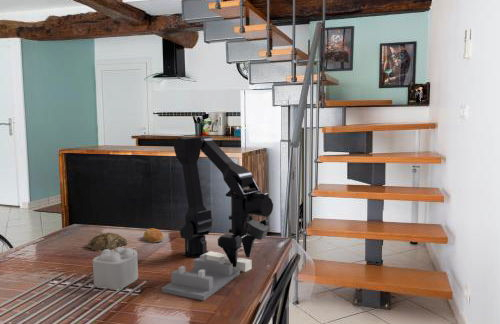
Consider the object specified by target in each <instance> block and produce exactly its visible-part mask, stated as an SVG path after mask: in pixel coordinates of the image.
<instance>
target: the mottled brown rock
mask: <svg viewBox="0 0 500 324" xmlns="http://www.w3.org/2000/svg"><path fill="white" fill-rule="evenodd" d="M127 244H128V241H127V239H126V238H125V237H123V236H122V235H119V233H118V234H117V233H115V232H103V233H100V234H98V235H95V236H94V237H93V238H91V239H90V240H89V242H88V243H87V248H88V249H91V251H93V250H95V251H94V252H99V251H98V250H105V249H109V250H110V249H112V250H115V248H118V247H122V246H124V247H125V245H126V246H127Z"/></svg>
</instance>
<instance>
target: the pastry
mask: <svg viewBox="0 0 500 324" xmlns="http://www.w3.org/2000/svg"><path fill="white" fill-rule="evenodd" d="M142 237H143V239H144V241H146V242H147V243H153V244H155V243H159V242H163V239H164V236H163V233H162V231H161V230H159V229H156V228H154V227H152V228H148V229H146V230H145V231H144V233H143V236H142Z"/></svg>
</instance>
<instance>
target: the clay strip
mask: <svg viewBox="0 0 500 324" xmlns="http://www.w3.org/2000/svg"><path fill="white" fill-rule="evenodd" d="M205 254H206V255H207V260H213V261H219V258H221V257H225V263H230V261H229V259H228V257H227V255H226V253H225V254H224V253H221V252H216V251H211V250H209V251H208V253H205ZM252 261H253V260H252V259H248V258H244V257H239V256H237V265H236V267H233V269H237V270H240V272H243V273H247V272H248V271H250V270H251V269H253V268H252V267H253V263H252Z"/></svg>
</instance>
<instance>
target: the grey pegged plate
mask: <svg viewBox="0 0 500 324" xmlns="http://www.w3.org/2000/svg"><path fill="white" fill-rule="evenodd" d="M186 269H187V268H186V266H183V265H181V266H179V267H178V270H177V269H176V270H173V271H172V272H170V278H171V281H170V282H169V283H167V284H166V285H164V286H162V287H161V292H162V293H165V294H171V295H176V296H180V297H184V298H189V299H195V300H200V301H204V302H205V300H207V299H208V298H210V296H211V297H212V295H213V294H215V293H216V292H217V291H219V290H220V289H222V288H223V287H225V286H226V285H227V284H228V283H230V282H231V281H232V280H233V279H235V278H236V277H238V276H240V275H241V271H240V270H237V269H233V264H231V263H225V257H221V258H219V261H213V260H207V255H206V254H202V255H201V256H200V257H198V258H197V257H195V258H194V259H193V269H191V270H190V271H186Z"/></svg>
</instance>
